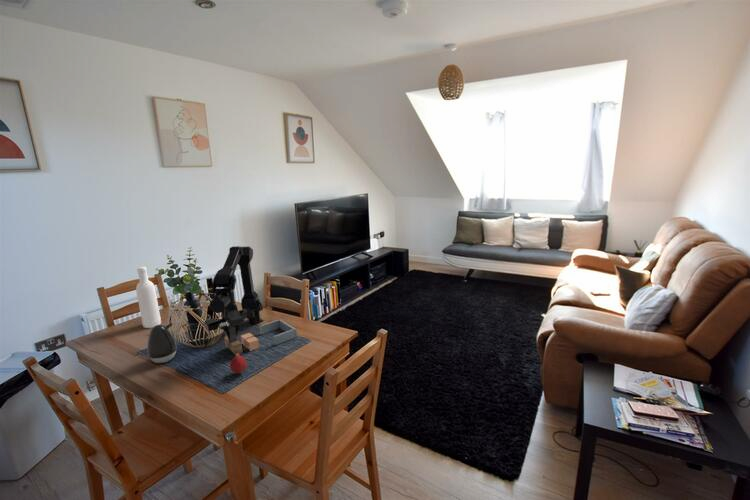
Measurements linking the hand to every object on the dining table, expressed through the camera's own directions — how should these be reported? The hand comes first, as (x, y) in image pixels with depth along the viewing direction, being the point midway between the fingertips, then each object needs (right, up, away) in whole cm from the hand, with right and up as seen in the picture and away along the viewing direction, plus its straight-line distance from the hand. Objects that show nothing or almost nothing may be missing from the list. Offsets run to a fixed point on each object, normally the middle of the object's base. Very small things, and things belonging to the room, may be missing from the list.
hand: (232, 337), depth 148 cm
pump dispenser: (-26, -8, -3) cm, 28 cm away
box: (+15, -3, +15) cm, 21 cm away
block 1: (+4, -5, +8) cm, 10 cm away
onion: (+8, -10, -14) cm, 20 cm away
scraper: (0, -5, +1) cm, 5 cm away
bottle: (-52, -1, +30) cm, 60 cm away
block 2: (+7, -5, +4) cm, 10 cm away
